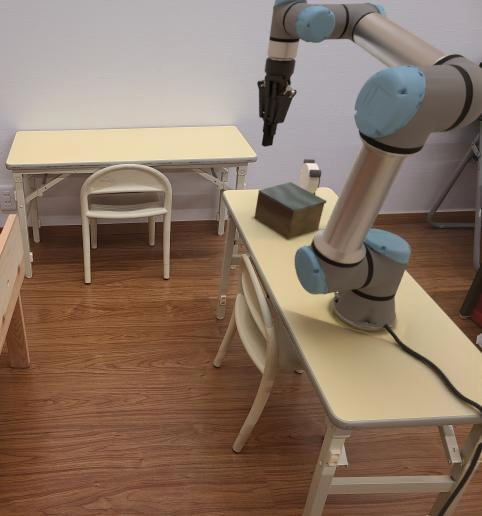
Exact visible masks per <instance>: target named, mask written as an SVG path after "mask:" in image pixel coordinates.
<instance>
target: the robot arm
mask: <svg viewBox="0 0 482 516" xmlns="http://www.w3.org/2000/svg"><path fill="white" fill-rule="evenodd" d="M271 15H272V16H271V22H270V31H269V38H268V45H267V51H266V56H267V58H266V59H265V64H264V73H265V75H264V78H263V79H262V80H258V81H257V83H256V84H257V89H258V117H259V118H260V119H262V121H263V126H262V139H261V146H262V147H270V146H271V147H272V146H273V144H274V138H275V136H276V134H277V129H278V124H283V123H285V120H286V117H287V114H288V112H289V109H290V106H291V104H292V101H293V99H294V97H295V96H296V95H297V93H298V92H297V90H296V89H293V87H292V86H291V84H292V81H291V79H292V78H291V77H292V76H293V74H294V73H295V67H296V62H297V61H296V58H297V55H298V49H299V43H300V40H301V41H304V42H305V43H312V44H319V43H322V42H323V41H326V40H327V41H328V40H329V41H330V40H350V41H351V42H352V43H354V44H355V45H357V46H358V47H360V48H361V49H362V50H364V51H365V52H367V53H368V54H369V55H370V56H372V57H373V58H375V59H376V60H378V61H379V62H380V63H381V64H382V65H384V66H386V67H387V68H383V69H381V70H379V71H377V72H375V73H373V74H372V75H371V76H370V77H369V78H368V79H367V80H366V81H365V82H364V83H363V85H362V86H361V89H360V90H359V92H358V94H357V97H356V98H355V99H356V100H355V103H354V110H355V111H356V113H355V114H354V116H353V117H354V122H355V125H356V128H357V129H358V131H357V134H358V138H359V139H360V141H361V145H360V146H359V149H358V151H357V154H356V155H355V157H354V161H353V163H352V166H351V168H350V170H349V172H348V175H347V177H346V179H345V182H344V184H343V186H342V188H341V191H340V193H339V195H338V197H337V200H336V202H335V205H334V206H333V209H332V211H331V214H330V216H329V219H328V221H327V223H326V225H325V228H322V229H320V230H317V231H316V233H315V234H314V236H313V238H312V240H311V243H310V244H309V245H303V246H300V247H298V248H297V249H296V251H295V254H294V270H295V274H296V277H297V279H298V282H299V284H300V285H301V287H302V288H303V289H304V290H305V292H307V293H308V294H311V295H327V294H333V293H334V294H333V295H334V296H333V299H332V302H331V307H330V308H331V312H332V314H333V316H334V317H335V318H336V319H337V320H338V321H339V322H341V323H342V324H343V325H345V326H347V327H349V328H351V329H353V330H355V331H356V330H357V331H360V332H363V333H370V334H371V333H372V334H377V333H384V332H386V331H387V333H389V335H390V336H391V337H392V339H393V340H394V341H395V342H396V343H397V345H399V346H400V347H401V348H402V349H403V350H404V351H406V352H408V353H409V354H410V355H412V356H414V357H415V358H417V359H419V360H421V361H422V362H424V364H427V365H428V366H429V367H430V368H432V369H433V370H434V371H435V372H436V374H438V375H439V376H440V378H441V379H442V380H443V383H444V384H445V385H446V386H447V387H448V389H450V391H451V392H452V393H453V394H454V395H455V396H456V397H457V398H459V400H461V401H463V402H464V403H466V404H468V405H470V406H472V407H473V408H475V409H477V410H478V411H479V412H480V413H481V414H482V405H480V404H479V403H478V402H475V401H474V400H473V399H470V398H468V397H466V396H465V395H463V394H462V393H461V392H460V391H459V390H458V389H457V388H456V387H455V386H454V384H453V383H452V382H451V381H450V379H449V378H448V377H447V375H445V373H444V372H443V371H442V370H441V369H440V368H439V367H438V366H437V365H436V364H435V363H434V362H432V361H431V360H430V359H429V358H426V356H424V355H421V354H420V353H419V352H417V351H415V350H414V349H412V348H410V347H409V346H407V345H406V344H405V343H404V342H403V341H402V340H401V339H400V338H399V337H398V336H397V334H396V333H395V332H394V331H393V329H392V327H393V325H394V323H395V320H396V315H397V313H396V295H397V292H398V290H399V287H400V285H401V282H402V280H403V277H404V274H405V272H406V269H407V266H408V265H409V263H410V261H409V260H410V257H411V253H412V248H411V246H410V244H409V243H408V242H407V241H406V240H405V238H402V237H401V236H399V235H397V234H395V233H393V232H390V231H387V230H383V229H380V228H372V227H373V225H374V224H375V221H376V220H377V217H378V215H379V213H380V212H381V210H382V208H383V206H384V204H385V202H386V200H387V198H388V196H389V194H390V192H391V191H392V189H393V186H394V185H395V183H396V182H397V179H398V177H399V175H400V173H401V171H402V169H403V167H404V165H405V163H406V161H407V159H408V158H409V157H412V156H415V155H418V154H419V153H420V152H421V151H422V150H423V148H424V146H425V144H426V143H427V140H428V138H429V137H430V136H431V134H432V133H433V134H434V133H445V132H452V131H456V130H459V129H462V128H464V127H466V126H469V125H470V124H472V123H473V122H474V121H476V120H477V119H478V117H480V115H482V67H480V65H478V64H476V63H475V62H474V61H473V60H470V59H469V58H467V57H466V56H463V55H461V54H460V53H450V54H447V53H446V52H444V51H443V50H441V49H439V48H438V47H436V46H434V45H433V44H431V43H429V42H427V41H426V40H424V39H423V38H421V37H420V36H418V35H416V34H414V33H413V32H411V31H410V30H408V29H406V28H404V27H403V26H402V25H400V24H397V23H396V22H394V21H393V20H392V19H389V18H388V17H387V12H386V11H385V7H384V6H383V5H381V4H378V3H371V2H362V3H326V4H325V3H323V4H321V3H318V4H317V3H308V0H274V5H273V7H272V14H271ZM481 454H482V441H481V442H479V443H478V444H477V447H476V449H475V452H474V455H473V457H472V459H471V461H470V464H469V466H468V468H467V469H466V471H465V473H464V474H463V476H462V478H461V480H460V481H459V482H458V484H457V486H456V487H455V489H454V490H453V491H452V493H451V494H450V496H449V497H448V499H447V500H446V501H445V503H444V505H442V508H441V509H440V511H439V512H438V514H437V516H444V515H445V514H446V512H448V511H447V510H448V509H449V508H450V506H451V505H452V503H453V502H454V501H455V499H456V498H457V497H458V495H459V494H460V492H461V491H462V489H463V488H464V487H465V485H466V483H467V482H468V480H469V479H470V477H471V476H472V473H473V471H474V470H475V468H476V467H477V464H478V461H479V459H480V457H481Z"/></svg>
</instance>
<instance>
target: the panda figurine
mask: <svg viewBox="0 0 482 516" xmlns="http://www.w3.org/2000/svg"><path fill="white" fill-rule="evenodd" d="M319 168H320V167H319V165H318V164H317V163H316V160H315V159H309V158H308V159H307V158H305V159H303V164H302V167H301V170H300V178H299V185H298V186H299V187H301V188H303V189H305V190H307V191H309V192H310V193H312V194H314V195H316V192H317V190H318V189H319V188H320V184H321V177H322V169H319Z"/></svg>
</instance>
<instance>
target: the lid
mask: <svg viewBox="0 0 482 516" xmlns="http://www.w3.org/2000/svg"><path fill="white" fill-rule="evenodd" d="M299 186H300V185H298V184H296V183H293V182H286V183H282V184H278V185H273V186H269V187H266V188H262V189H259V190H258V193H261V194H263V195H264V196H266V197H268V198H270V199H271V200H273V201H275V202H276V203H278V204H280V205H282V206H283V207H285V208H287V209H288V210H290V211H292V212H297V211H300V210H304V209H307V208H310V207H314V206H317V205H321V204H324V205H325V204H327V200H326V199H324V198H322V197H320V196H318V195H316V194H315V195H314V194H312V193H310V192H309V191H307V190H305V189H303V188H301V187H299Z"/></svg>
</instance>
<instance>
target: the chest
mask: <svg viewBox="0 0 482 516" xmlns="http://www.w3.org/2000/svg"><path fill="white" fill-rule="evenodd" d="M324 208H325V203H324V204H321V205H317V206H314V207H310V208H307V209H304V210H300V211H297V212H292V211H290V210H288V209H287V208H285V207H283V206H282V205H280V204H278V203H276V202H275V201H273V200H271V199H270V198H268V197H266V196H264V195H263V194H261V193H259V192H258V193H257V199H256V206H255V211H254V217H253V218H254V219H256V220H257V221H259V222H260V223H262V224H263V225H264V226H267V228H270V229H271V230H273V231H274V232H276V233H277V234H279V235H281V236H282V237H284V238H285V239H286V240H291V239H293V238H296V237H300V236H302V235H307V234H309V233H313V232H316V231H319V228H320V223H321V219H322V215H323V211H324Z"/></svg>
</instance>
